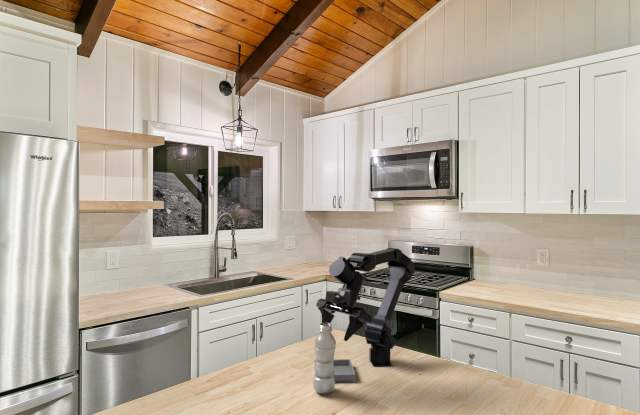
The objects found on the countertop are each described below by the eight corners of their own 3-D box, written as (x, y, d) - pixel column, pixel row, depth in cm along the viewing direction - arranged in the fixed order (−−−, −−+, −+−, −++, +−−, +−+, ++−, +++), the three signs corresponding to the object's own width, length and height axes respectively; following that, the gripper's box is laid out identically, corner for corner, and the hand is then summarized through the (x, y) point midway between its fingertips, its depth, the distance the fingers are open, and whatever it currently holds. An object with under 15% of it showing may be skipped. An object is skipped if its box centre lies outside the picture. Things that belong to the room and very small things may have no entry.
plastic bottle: (337, 388, 123) (339, 322, 123) (331, 398, 117) (333, 329, 116) (316, 384, 125) (318, 320, 125) (310, 395, 119) (311, 326, 118)
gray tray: (350, 365, 140) (350, 359, 139) (355, 381, 127) (355, 374, 127) (314, 366, 139) (314, 360, 139) (316, 382, 127) (316, 375, 127)
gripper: (315, 275, 131) (296, 321, 126) (361, 283, 118) (342, 335, 113) (334, 288, 138) (317, 333, 133) (380, 298, 125) (363, 348, 120)
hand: (333, 337), depth 124 cm, fingers open, 9 cm apart
